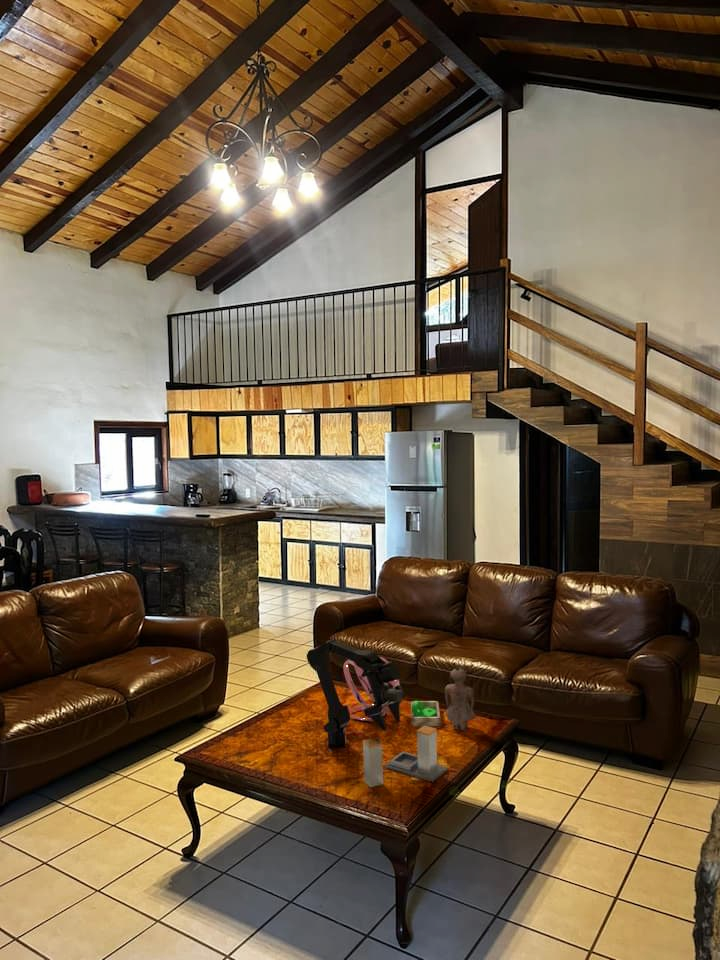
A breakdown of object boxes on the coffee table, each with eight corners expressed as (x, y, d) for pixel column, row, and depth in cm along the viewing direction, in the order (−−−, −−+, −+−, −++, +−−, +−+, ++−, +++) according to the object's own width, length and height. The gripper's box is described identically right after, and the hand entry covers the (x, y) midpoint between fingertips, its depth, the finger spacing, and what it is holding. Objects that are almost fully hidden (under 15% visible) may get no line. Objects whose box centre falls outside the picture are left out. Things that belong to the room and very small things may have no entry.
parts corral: (411, 726, 294) (411, 717, 294) (411, 708, 312) (410, 701, 312) (440, 725, 293) (440, 717, 293) (438, 708, 311) (438, 701, 311)
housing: (385, 767, 259) (384, 725, 258) (400, 756, 267) (399, 715, 266) (432, 782, 247) (431, 738, 246) (446, 770, 255) (445, 727, 254)
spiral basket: (314, 678, 299) (366, 643, 295) (335, 672, 325) (383, 640, 321) (348, 738, 290) (402, 703, 286) (367, 727, 317) (416, 694, 313)
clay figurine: (478, 725, 292) (477, 666, 291) (471, 735, 284) (470, 674, 282) (449, 720, 298) (448, 663, 296) (441, 730, 289) (439, 670, 287)
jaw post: (363, 781, 249) (362, 740, 248) (377, 777, 252) (375, 737, 250) (370, 787, 245) (368, 746, 244) (383, 784, 247) (382, 743, 246)
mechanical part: (423, 724, 296) (423, 706, 296) (411, 721, 300) (411, 702, 299) (438, 715, 306) (438, 697, 305) (427, 711, 309) (427, 694, 309)
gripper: (379, 688, 253) (394, 731, 250) (407, 673, 268) (421, 713, 265) (356, 694, 259) (371, 736, 257) (385, 679, 274) (399, 718, 272)
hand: (391, 726), depth 262 cm, fingers open, 9 cm apart
